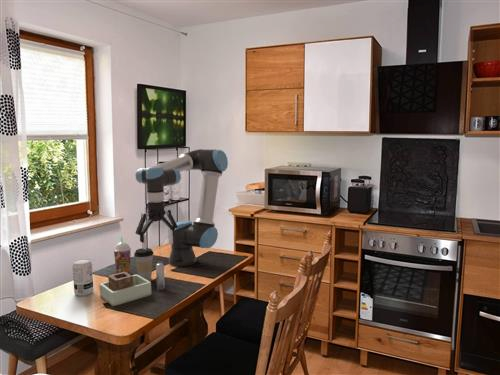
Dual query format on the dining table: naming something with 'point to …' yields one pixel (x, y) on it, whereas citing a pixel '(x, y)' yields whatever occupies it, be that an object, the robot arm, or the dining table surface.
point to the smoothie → (122, 257)
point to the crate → (126, 291)
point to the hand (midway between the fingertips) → (157, 246)
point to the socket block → (120, 281)
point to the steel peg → (160, 276)
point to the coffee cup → (144, 262)
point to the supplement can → (82, 277)
